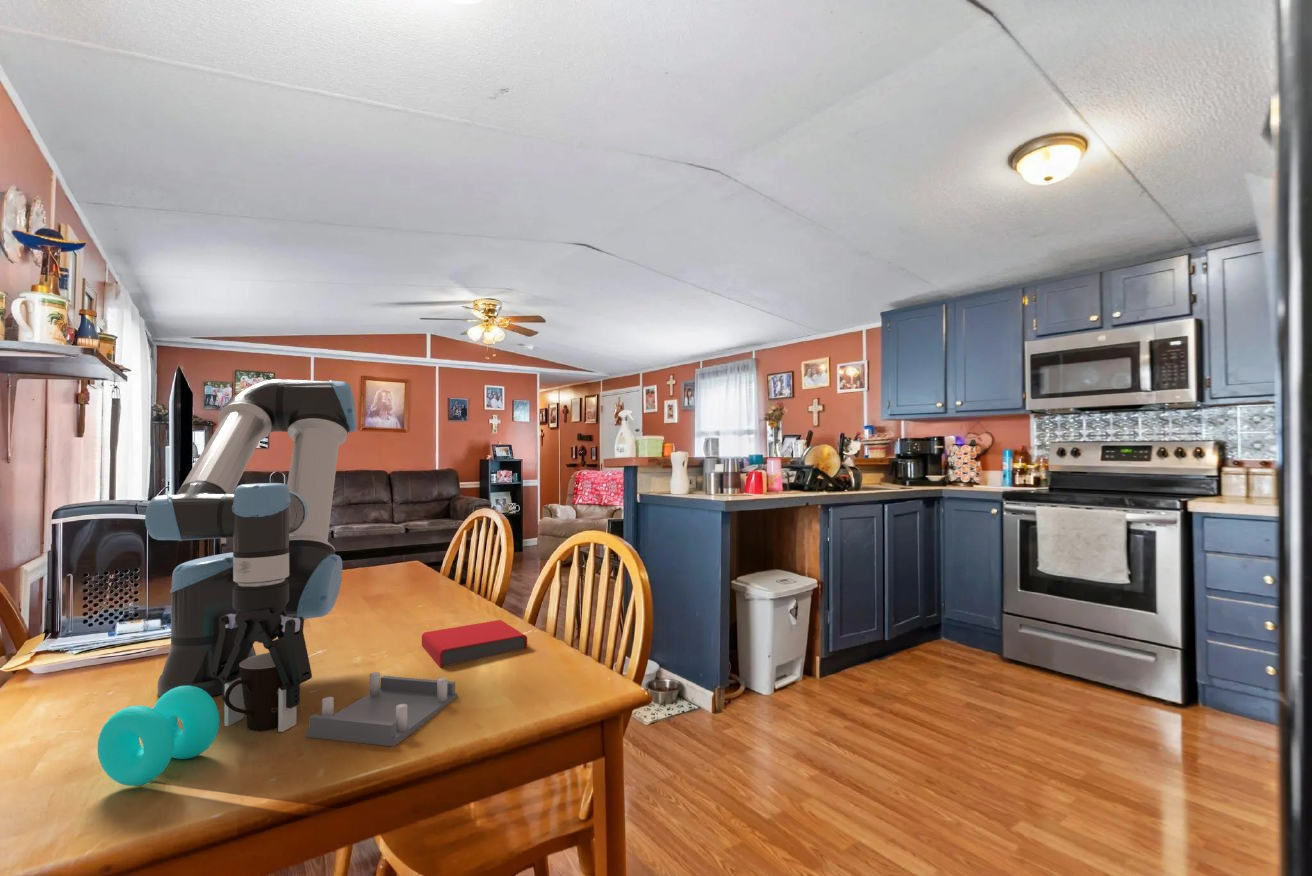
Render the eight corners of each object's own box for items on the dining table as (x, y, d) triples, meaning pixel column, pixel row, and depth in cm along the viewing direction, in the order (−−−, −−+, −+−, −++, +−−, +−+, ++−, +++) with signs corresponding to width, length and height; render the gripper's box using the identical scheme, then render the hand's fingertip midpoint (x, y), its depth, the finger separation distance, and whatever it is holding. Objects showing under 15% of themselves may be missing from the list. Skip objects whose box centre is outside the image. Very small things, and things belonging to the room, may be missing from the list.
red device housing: (503, 641, 140) (503, 619, 140) (527, 658, 128) (527, 634, 129) (421, 656, 130) (421, 632, 130) (440, 676, 118) (440, 650, 119)
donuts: (90, 787, 79) (91, 708, 79) (164, 749, 89) (164, 680, 89) (157, 793, 78) (158, 713, 78) (224, 754, 88) (225, 684, 88)
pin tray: (306, 736, 93) (306, 706, 93) (381, 692, 110) (381, 667, 110) (394, 746, 89) (394, 715, 90) (457, 699, 106) (457, 673, 107)
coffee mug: (290, 706, 104) (290, 647, 104) (311, 720, 98) (311, 657, 99) (207, 731, 95) (208, 666, 95) (226, 748, 89) (226, 678, 90)
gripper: (182, 583, 96) (180, 729, 95) (302, 589, 91) (301, 742, 90) (225, 574, 103) (224, 709, 103) (338, 579, 98) (338, 720, 98)
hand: (260, 724), depth 96 cm, fingers open, 9 cm apart
